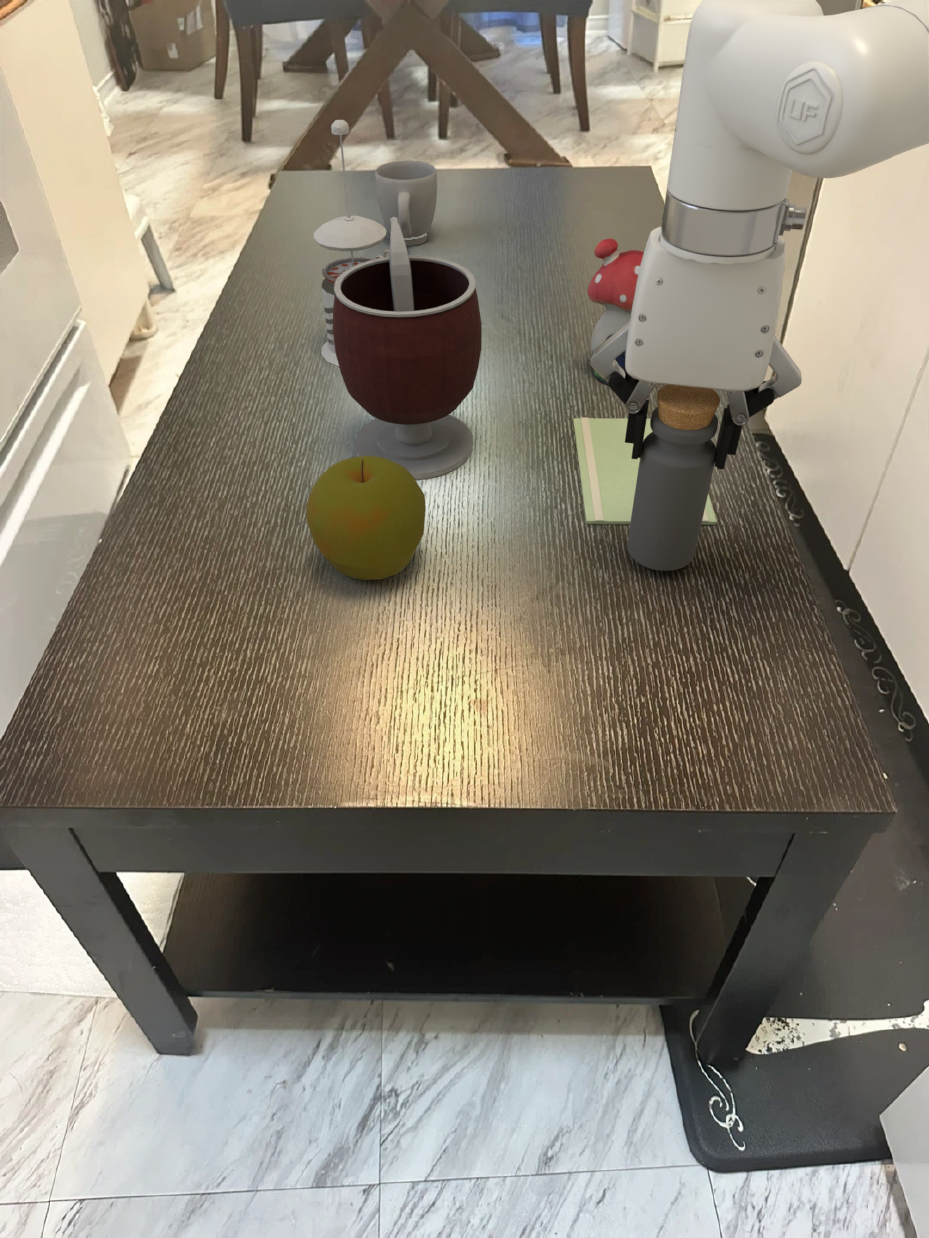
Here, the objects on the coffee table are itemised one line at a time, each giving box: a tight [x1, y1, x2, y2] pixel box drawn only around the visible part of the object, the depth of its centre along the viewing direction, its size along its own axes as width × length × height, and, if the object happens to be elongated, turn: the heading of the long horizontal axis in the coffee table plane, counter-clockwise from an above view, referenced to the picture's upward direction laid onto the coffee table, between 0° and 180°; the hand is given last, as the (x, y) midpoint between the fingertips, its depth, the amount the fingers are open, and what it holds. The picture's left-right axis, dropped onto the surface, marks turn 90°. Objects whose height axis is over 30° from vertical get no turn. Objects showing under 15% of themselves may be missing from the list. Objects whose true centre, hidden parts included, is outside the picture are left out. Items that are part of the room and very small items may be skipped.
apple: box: [305, 456, 427, 581], centre depth 74 cm, size 10×10×11 cm
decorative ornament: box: [587, 238, 644, 386], centre depth 97 cm, size 9×7×15 cm
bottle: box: [627, 384, 721, 572], centre depth 72 cm, size 6×6×15 cm
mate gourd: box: [333, 217, 483, 480], centre depth 85 cm, size 16×14×20 cm
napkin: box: [572, 416, 718, 526], centre depth 88 cm, size 18×12×1 cm, turn 179°
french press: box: [313, 119, 390, 367], centre depth 98 cm, size 10×12×25 cm
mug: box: [374, 159, 438, 247], centre depth 128 cm, size 12×9×10 cm
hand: (678, 453), depth 70 cm, fingers closed on bottle, 5 cm apart
